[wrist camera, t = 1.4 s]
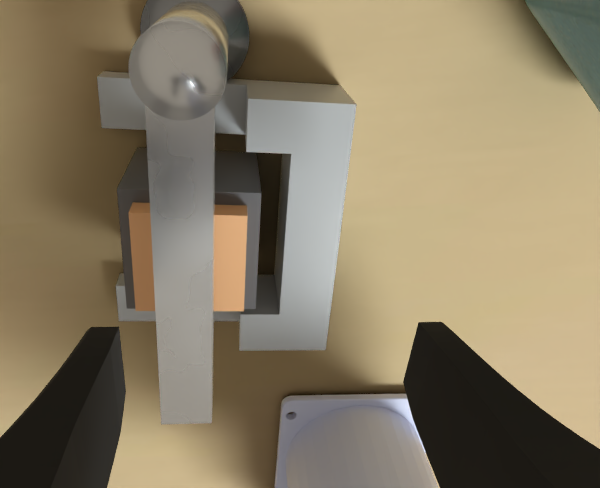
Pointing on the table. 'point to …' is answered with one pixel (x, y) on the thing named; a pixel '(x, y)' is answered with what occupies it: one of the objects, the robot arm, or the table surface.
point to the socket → (292, 200)
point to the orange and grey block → (227, 231)
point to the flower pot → (574, 37)
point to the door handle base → (231, 14)
